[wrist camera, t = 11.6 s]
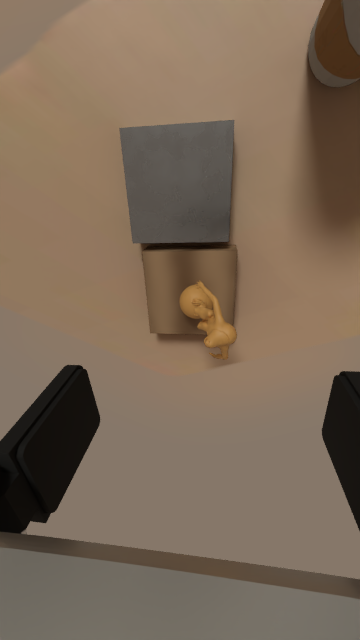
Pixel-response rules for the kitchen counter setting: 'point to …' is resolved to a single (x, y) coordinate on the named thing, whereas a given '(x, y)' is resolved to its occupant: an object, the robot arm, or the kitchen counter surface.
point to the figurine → (208, 317)
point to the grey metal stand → (179, 181)
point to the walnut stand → (187, 283)
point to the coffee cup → (336, 43)
